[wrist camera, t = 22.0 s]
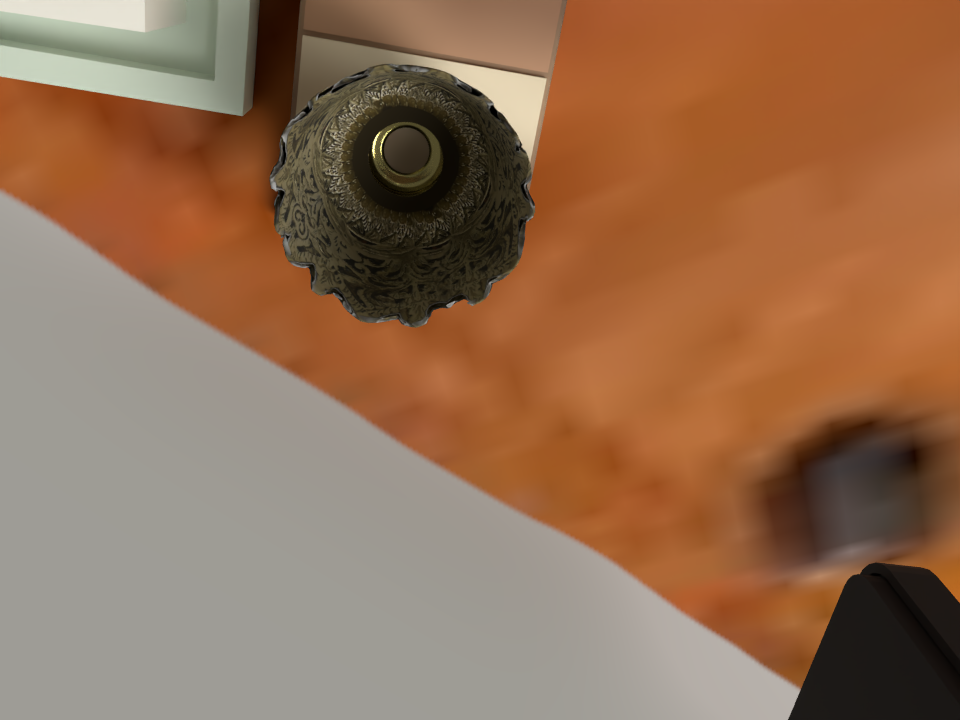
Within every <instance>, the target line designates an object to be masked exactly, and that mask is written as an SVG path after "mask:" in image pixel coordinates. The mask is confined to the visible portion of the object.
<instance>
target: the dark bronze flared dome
mask: <svg viewBox="0 0 960 720" xmlns="http://www.w3.org/2000/svg"><path fill="white" fill-rule="evenodd" d="M401 128H411V129H415V130H417V131H418V132H420V133H421V134H422V135H423V136H424V137H425V139H426V140H427V143H428V146H429V157H428V160H427V162H426V163H425V165H424V166H423V167H422V168H421V169H420V170H418V171H416V172H413V173H401V172H398V171H396V170H395V169H393V168H392V167H391V166H390V165H389V164H388V162H387V160H386V158H385V154H384V146H385V142H386V140H387V138H388V137H389V135H390V134H391V133H393V132H394V131H396V130H398V129H401ZM531 178H532V171H531V164H530V161H529V158H528V155H527V153H526V151H525V150H524V149H523V148H522V143H521V141H520V139H519V137H518V135H517V133H516V131H515V130H514V129H513V128H512V126H511V125H510V124H509V122H508V121H507V119H506V118H505V117H504V115H503V114H502V113H501V112H499V111H498V110H497V109H496V108H495V106H494V103H493V102H492V101H491V100H490V99H489V98H488V97H487V96H485V95H484V94H483V93H482V92H480V91H479V90H477V89H475V88H473V87H472V86H470V85H468V84H466V83H465V82H463V81H461V80H459V79H458V78H457V77H455V76H453V75H451V74H449V73H447V72H445V71H441V70H438V69H434V68H429V67H423V66H416V65H395V64H381V65H376V66H372V67H369V68H367V69H366V70H364V71H361V72H358V73H356V74H354V75H351V76H349V77H345V78H343V79H341V80H340V81H339V82H338V83H336V84H334V85H332V86H330V87H326V88H325V89H323V90H322V91H320V92H318V93H317V94H316V95H315V96H313V97H312V98H311V99H310V100H309V101H308V103H307V106H306V107H304V109H303V110H302V111H300V112H299V113H298V114H297V115H296V116H295V117H294V118H293V119H292V120H291V121H290V122H289V123H288V125H287V126H286V128H285V129H284V131H283V133H282V136H281V138H280V156H279V161H278V163H277V164H276V165H275V166H274V168H273V170H272V172H271V175H270V185H271V189H275V191H276V190H277V191H278V196H277V197H276V200H275V203H274V206H275V216H274V225H275V229H276V231H277V233H278V234H281V238H283V237H284V239H283V246H284V250H285V255H286V257H287V259H288V261H289V262H290V263H291V264H293V265H294V266H297V267H301V268H306V267H308V268H309V269H310V274H311V290H312V291H313V292H315V293H316V294H318V295H321V296H322V295H326V294H331V293H333V294H334V295H335V296H336V297H337V298H338V299H339V300H340V301H341V303H342V305H343V306H344V308H345V309H346V310H347V311H348V312H349V313H350V314H351V315H353V316H354V317H355V318H357V319H358V320H360V321H362V322H367V323H379V322H385V321H390V320H396V319H399V321H400V322H401V323H402V324H403V325H406V326H409V327H420V326H422V325H424V324H426V323H427V321H428V319H429V317H430V316H431V313H432V312H433V310H436V309H439V308H450V307H451V306H452V305H453V304H454V303H456V302H459V301H461V300H463V299H465V300H468V301H469V302H468V304H470V305H472V306H473V305H475V304H478V303H480V302H482V301H483V300H484V299H485V298H486V297H487V296H488V295H489V293H490V290H491V288H492V284H493V283H495V282H497V281H500V280H502V279H504V278H505V277H506V276H507V275H508V274H509V273H510V272H511V271H512V270H513V269H514V268H515V267H516V265H517V264H518V263H519V260H520V258H521V255H522V251H523V246H524V240H525V225H526V220H527V221H529V220H531V218H533V216H534V213H535V204H534V202H533V200H532V198H531V196H530V194H529V191H528V189H527V184H528V183H529V182H530V180H531ZM428 315H429V316H428Z"/></svg>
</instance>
